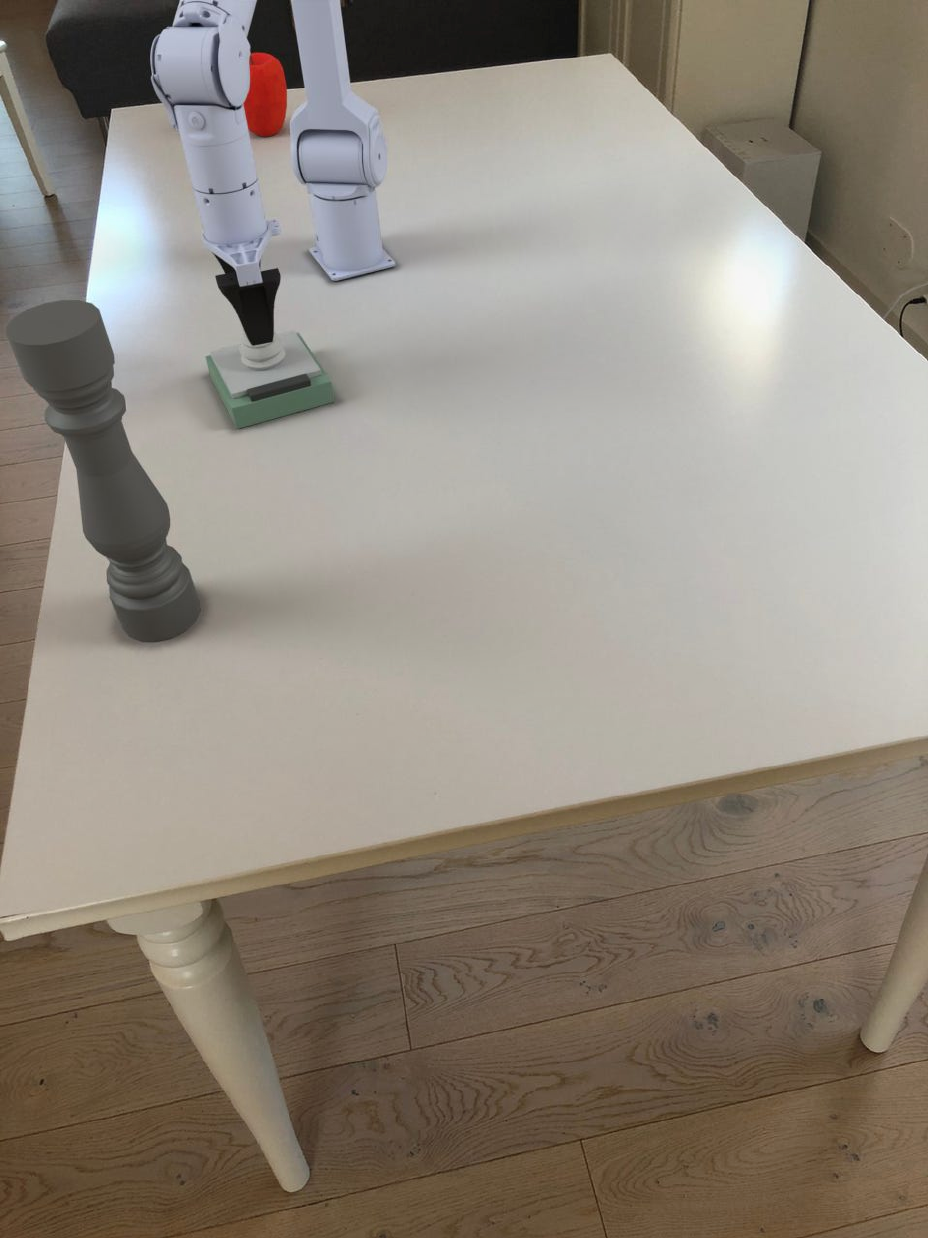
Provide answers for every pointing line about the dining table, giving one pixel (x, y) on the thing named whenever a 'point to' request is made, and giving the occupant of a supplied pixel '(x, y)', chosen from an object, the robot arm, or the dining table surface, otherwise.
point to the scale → (270, 383)
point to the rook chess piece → (262, 353)
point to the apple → (265, 95)
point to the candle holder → (106, 466)
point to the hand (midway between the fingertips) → (256, 323)
